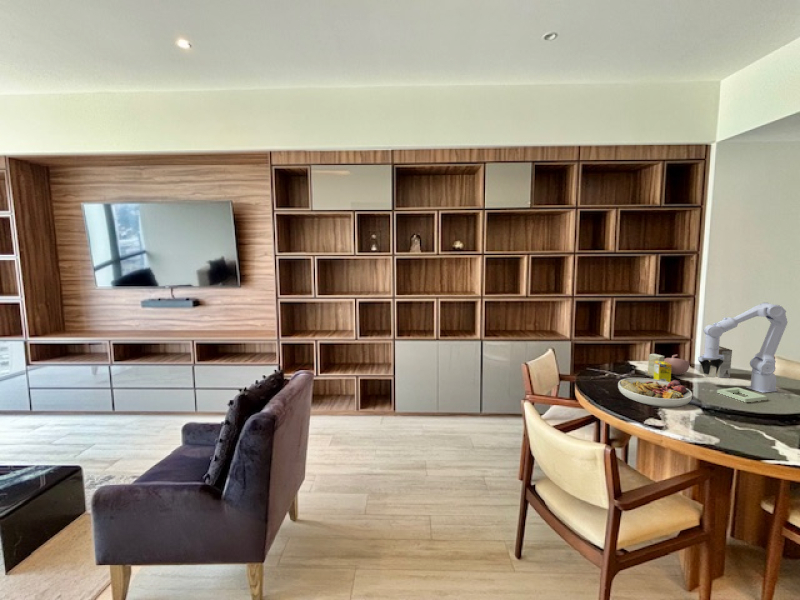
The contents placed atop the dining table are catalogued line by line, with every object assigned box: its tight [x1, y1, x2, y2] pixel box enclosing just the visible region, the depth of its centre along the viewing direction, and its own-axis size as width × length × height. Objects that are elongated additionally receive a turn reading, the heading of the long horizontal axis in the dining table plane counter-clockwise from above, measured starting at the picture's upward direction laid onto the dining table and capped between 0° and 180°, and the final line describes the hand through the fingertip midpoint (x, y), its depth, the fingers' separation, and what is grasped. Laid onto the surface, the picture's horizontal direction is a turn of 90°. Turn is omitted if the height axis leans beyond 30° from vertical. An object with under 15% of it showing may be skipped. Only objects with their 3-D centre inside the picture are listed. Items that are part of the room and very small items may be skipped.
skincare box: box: [647, 353, 665, 377], centre depth 211 cm, size 6×4×12 cm
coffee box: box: [709, 345, 733, 379], centre depth 209 cm, size 9×6×16 cm
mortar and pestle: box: [664, 354, 690, 376], centre depth 213 cm, size 12×12×11 cm
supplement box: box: [653, 361, 672, 382], centre depth 201 cm, size 6×6×11 cm
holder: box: [716, 386, 768, 402], centre depth 178 cm, size 13×13×2 cm
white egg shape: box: [703, 366, 716, 378], centre depth 193 cm, size 5×5×5 cm
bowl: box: [617, 377, 693, 408], centre depth 181 cm, size 30×30×8 cm
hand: (710, 373), depth 193 cm, fingers closed on white egg shape, 5 cm apart
